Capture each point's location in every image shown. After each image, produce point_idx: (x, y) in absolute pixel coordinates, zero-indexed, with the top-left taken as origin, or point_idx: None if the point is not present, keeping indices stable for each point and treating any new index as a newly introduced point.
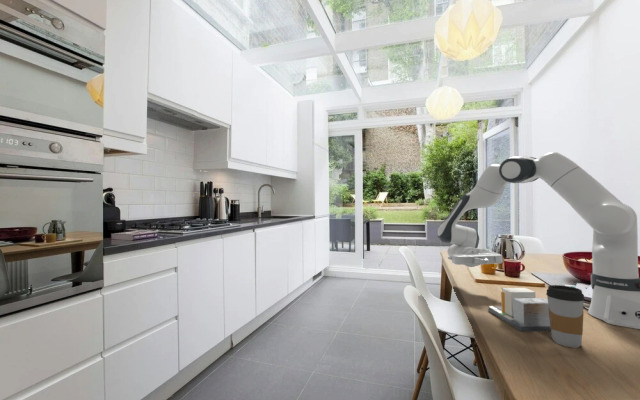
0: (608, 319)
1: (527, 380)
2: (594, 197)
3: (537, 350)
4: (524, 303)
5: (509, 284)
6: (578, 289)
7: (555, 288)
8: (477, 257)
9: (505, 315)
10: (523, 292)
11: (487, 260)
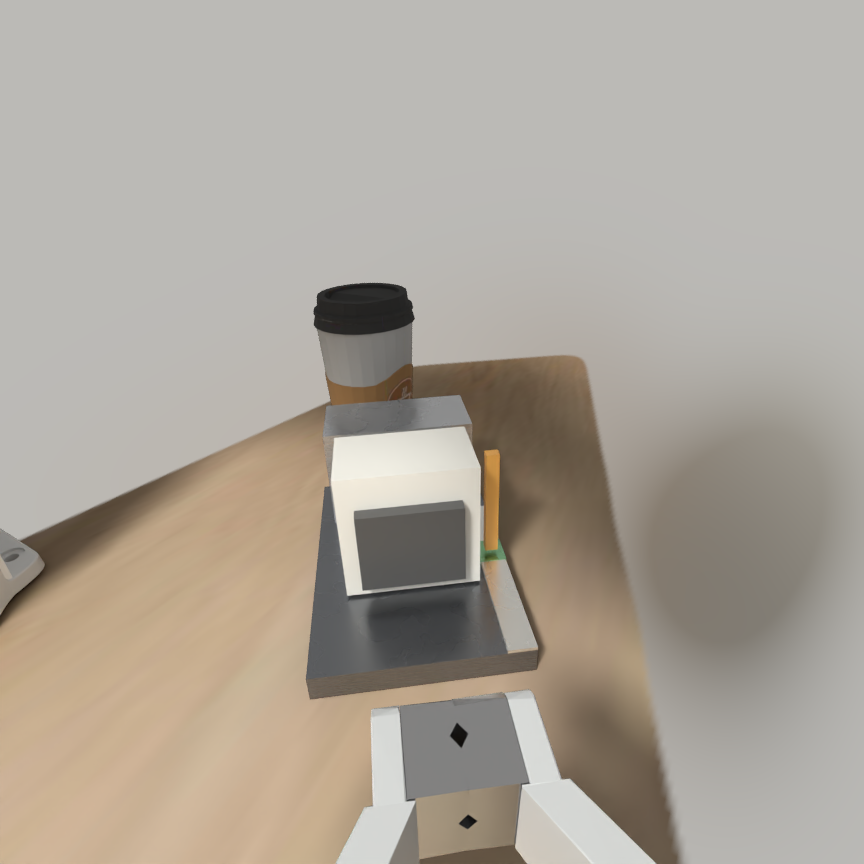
0: (23, 565)
1: (552, 369)
2: None
3: (483, 423)
4: (455, 395)
5: None
6: (325, 292)
7: (383, 297)
8: None
9: None
10: (398, 434)
11: (408, 706)
